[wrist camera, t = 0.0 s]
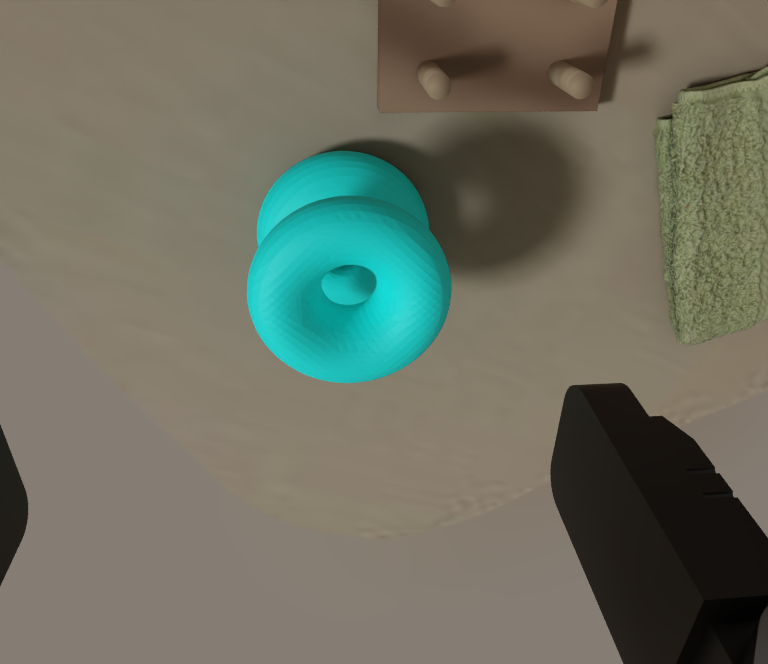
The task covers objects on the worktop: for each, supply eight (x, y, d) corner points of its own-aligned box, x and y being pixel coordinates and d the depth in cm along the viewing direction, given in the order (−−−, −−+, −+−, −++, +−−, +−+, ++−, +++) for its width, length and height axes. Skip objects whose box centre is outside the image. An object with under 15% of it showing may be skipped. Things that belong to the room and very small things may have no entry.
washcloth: (876, 23, 36) (922, 31, 34) (836, 289, 46) (870, 312, 43) (645, 89, 37) (672, 102, 34) (653, 338, 46) (674, 363, 44)
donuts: (199, 316, 30) (349, 162, 27) (223, 230, 38) (339, 106, 35) (354, 425, 34) (498, 304, 31) (345, 326, 43) (458, 223, 40)
